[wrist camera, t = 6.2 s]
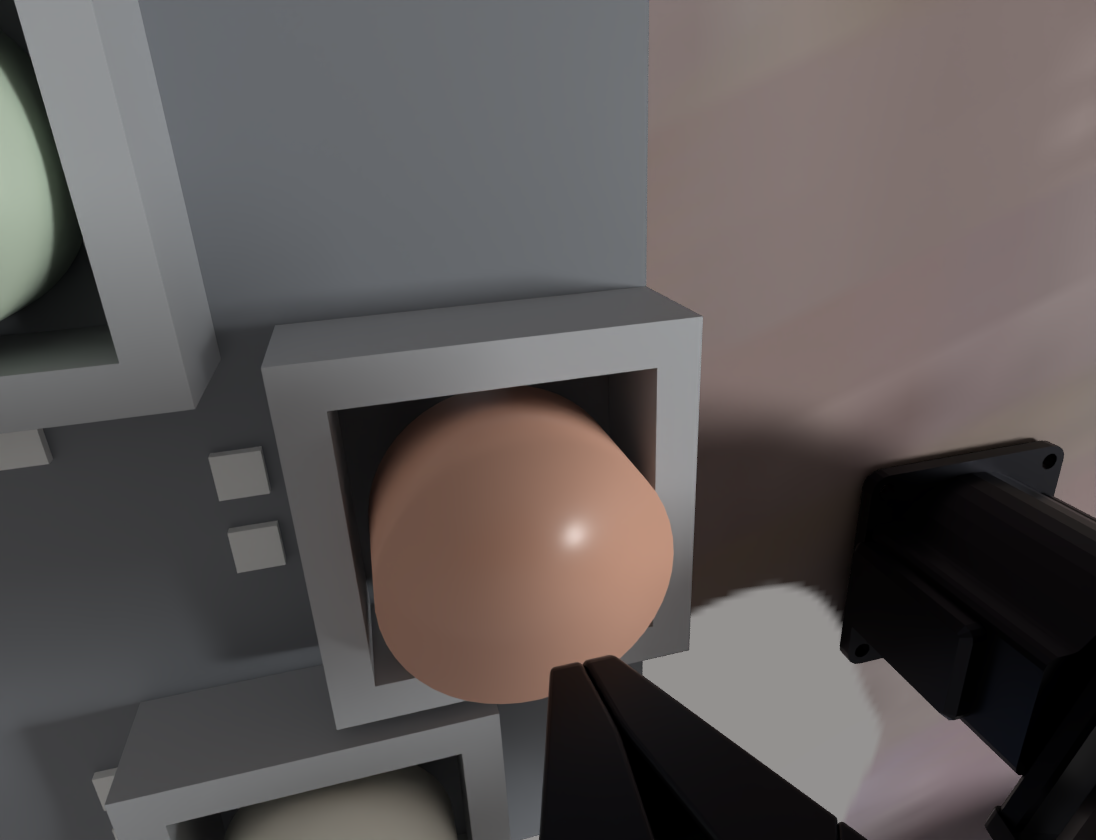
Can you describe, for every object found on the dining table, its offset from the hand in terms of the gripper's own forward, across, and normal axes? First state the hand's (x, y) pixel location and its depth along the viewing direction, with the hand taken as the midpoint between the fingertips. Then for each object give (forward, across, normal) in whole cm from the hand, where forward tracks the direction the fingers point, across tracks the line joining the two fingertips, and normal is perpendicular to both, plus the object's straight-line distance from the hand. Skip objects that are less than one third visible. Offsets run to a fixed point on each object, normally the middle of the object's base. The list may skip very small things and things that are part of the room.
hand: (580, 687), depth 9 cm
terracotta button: (+5, 0, 0) cm, 5 cm away
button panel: (+8, +4, 0) cm, 9 cm away
